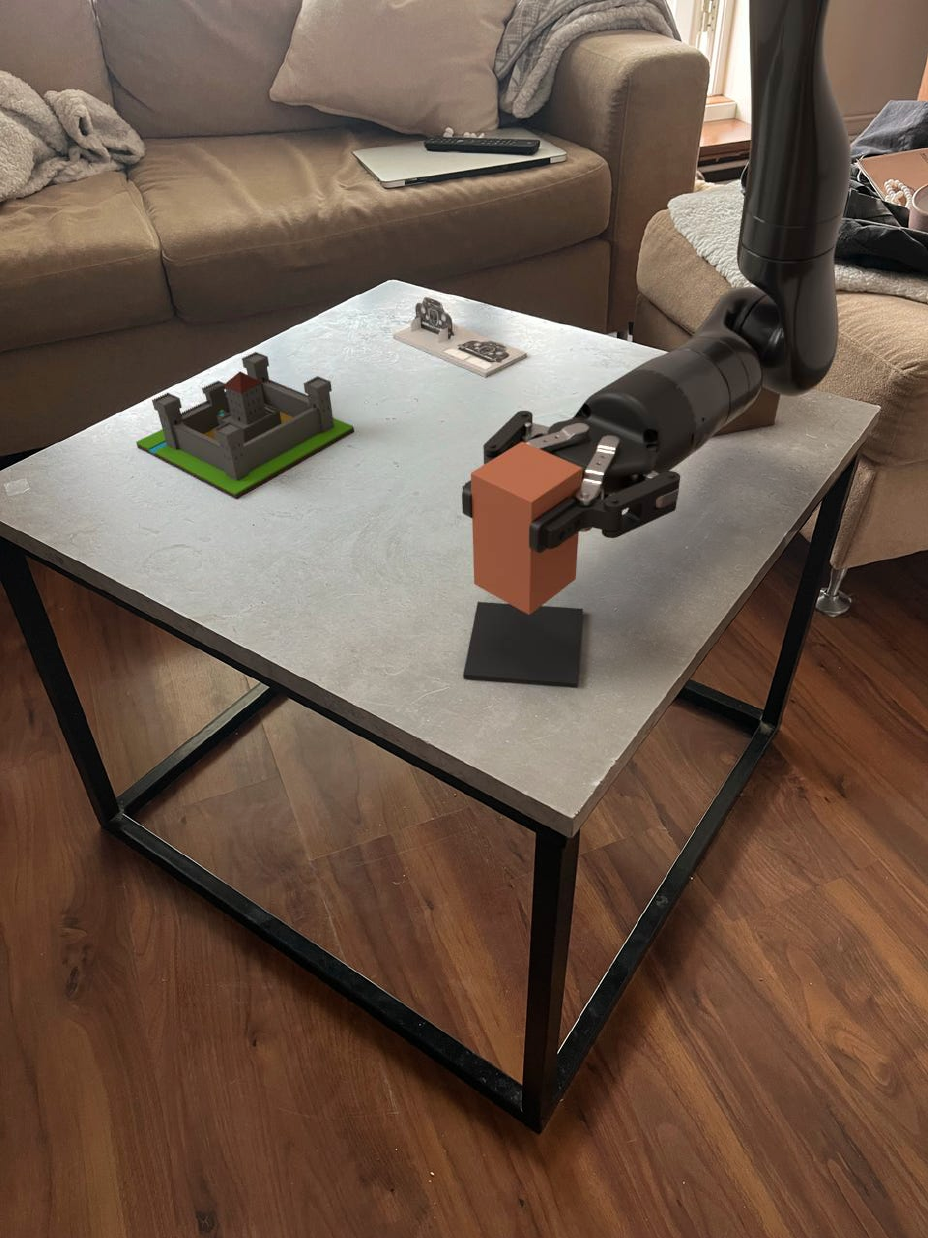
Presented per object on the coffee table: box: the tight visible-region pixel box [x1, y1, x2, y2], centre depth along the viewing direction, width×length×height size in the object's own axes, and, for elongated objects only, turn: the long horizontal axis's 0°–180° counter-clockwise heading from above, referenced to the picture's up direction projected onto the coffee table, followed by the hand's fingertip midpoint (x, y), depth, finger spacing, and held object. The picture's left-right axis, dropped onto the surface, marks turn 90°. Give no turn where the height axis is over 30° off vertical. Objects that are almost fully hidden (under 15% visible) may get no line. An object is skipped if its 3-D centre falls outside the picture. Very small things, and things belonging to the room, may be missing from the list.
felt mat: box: [462, 601, 584, 688], centre depth 67 cm, size 8×8×1 cm
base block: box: [713, 387, 781, 436], centre depth 91 cm, size 8×8×5 cm
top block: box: [470, 442, 583, 615], centre depth 61 cm, size 5×5×9 cm
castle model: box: [135, 351, 355, 500], centre depth 89 cm, size 15×15×7 cm
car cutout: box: [392, 296, 528, 378], centre depth 104 cm, size 15×7×4 cm, turn 45°
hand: (500, 521), depth 58 cm, fingers closed on top block, 5 cm apart
